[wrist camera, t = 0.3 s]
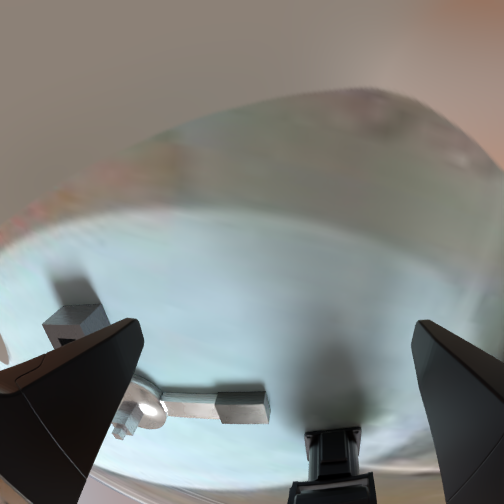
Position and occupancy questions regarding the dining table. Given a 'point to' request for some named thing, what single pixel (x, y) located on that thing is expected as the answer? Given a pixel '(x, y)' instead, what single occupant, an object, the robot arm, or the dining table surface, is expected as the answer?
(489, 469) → the robot arm
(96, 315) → the socket
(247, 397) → the ratchet
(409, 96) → the dining table surface
